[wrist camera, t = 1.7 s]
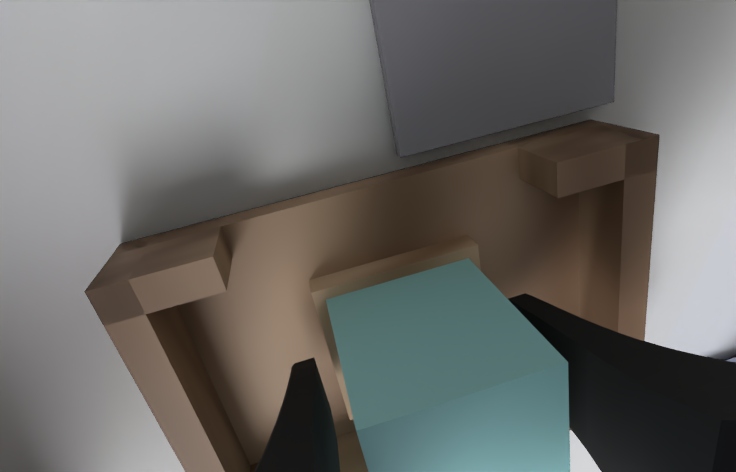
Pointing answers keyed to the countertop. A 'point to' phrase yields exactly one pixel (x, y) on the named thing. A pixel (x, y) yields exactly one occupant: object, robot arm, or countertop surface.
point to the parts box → (369, 275)
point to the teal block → (450, 377)
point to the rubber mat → (490, 64)
